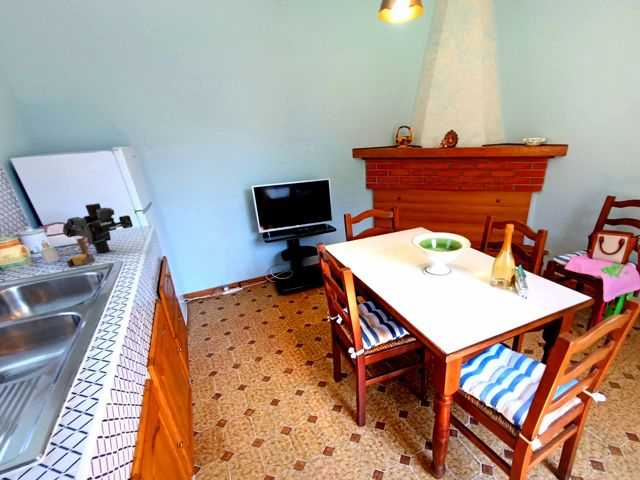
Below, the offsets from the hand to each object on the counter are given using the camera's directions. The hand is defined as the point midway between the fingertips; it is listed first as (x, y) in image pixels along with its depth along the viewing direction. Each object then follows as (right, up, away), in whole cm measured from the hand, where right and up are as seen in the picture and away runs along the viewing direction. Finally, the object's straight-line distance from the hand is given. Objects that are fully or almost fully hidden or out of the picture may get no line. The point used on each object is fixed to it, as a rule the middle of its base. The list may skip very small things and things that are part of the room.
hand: (120, 226), depth 146 cm
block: (-19, -18, 0) cm, 26 cm away
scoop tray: (-19, -18, +2) cm, 27 cm away
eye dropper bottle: (-39, -18, +7) cm, 44 cm away
